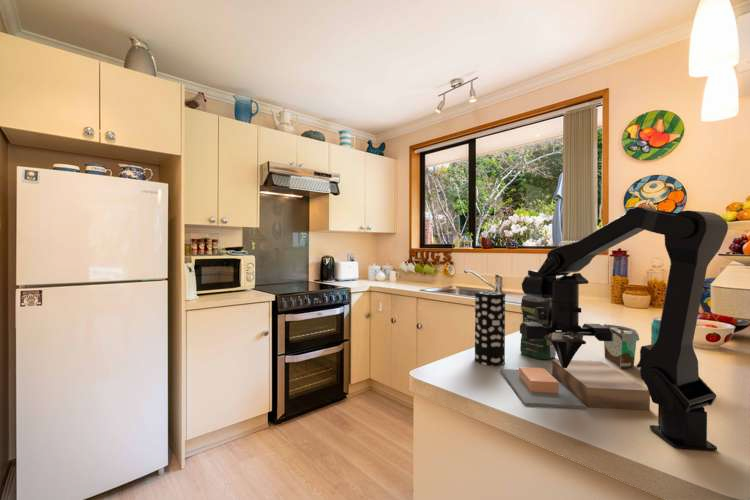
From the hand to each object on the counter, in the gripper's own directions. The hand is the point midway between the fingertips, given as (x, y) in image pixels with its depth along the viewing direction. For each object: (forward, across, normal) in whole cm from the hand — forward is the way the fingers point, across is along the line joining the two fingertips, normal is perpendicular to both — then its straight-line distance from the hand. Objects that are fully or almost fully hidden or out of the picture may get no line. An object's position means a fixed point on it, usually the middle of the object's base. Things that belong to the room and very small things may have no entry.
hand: (564, 367), depth 80 cm
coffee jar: (+5, -3, -25) cm, 26 cm away
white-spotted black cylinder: (+5, +13, -18) cm, 23 cm away
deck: (+5, -7, 0) cm, 9 cm away
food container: (+5, -25, -20) cm, 32 cm away
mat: (+5, +6, 0) cm, 8 cm away
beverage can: (+5, -29, -10) cm, 31 cm away
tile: (+3, +6, 0) cm, 7 cm away
